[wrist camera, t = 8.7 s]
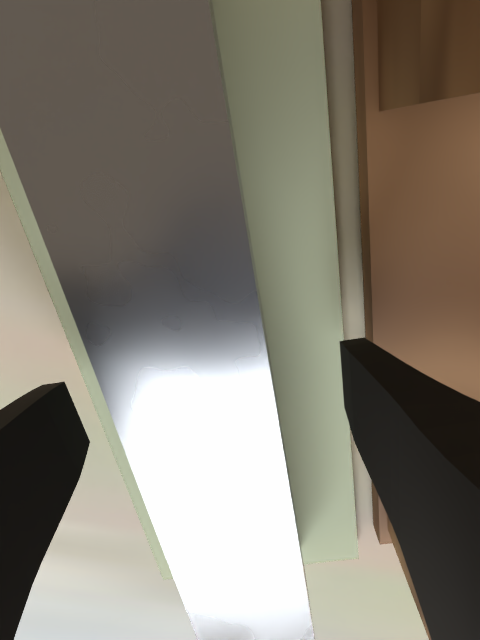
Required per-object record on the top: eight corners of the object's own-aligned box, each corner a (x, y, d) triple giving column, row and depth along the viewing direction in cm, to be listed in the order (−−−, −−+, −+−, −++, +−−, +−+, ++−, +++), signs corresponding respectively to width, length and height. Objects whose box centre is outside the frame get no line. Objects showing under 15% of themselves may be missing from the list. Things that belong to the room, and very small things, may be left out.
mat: (354, 544, 16) (358, 558, 16) (165, 565, 17) (163, 579, 16) (306, -107, 8) (312, -125, 7) (-61, -23, 9) (-81, -33, 8)
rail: (301, 547, 15) (316, 653, 12) (213, 557, 16) (206, 663, 12) (206, -36, 8) (183, -152, 5) (42, 0, 8) (-82, -85, 5)
